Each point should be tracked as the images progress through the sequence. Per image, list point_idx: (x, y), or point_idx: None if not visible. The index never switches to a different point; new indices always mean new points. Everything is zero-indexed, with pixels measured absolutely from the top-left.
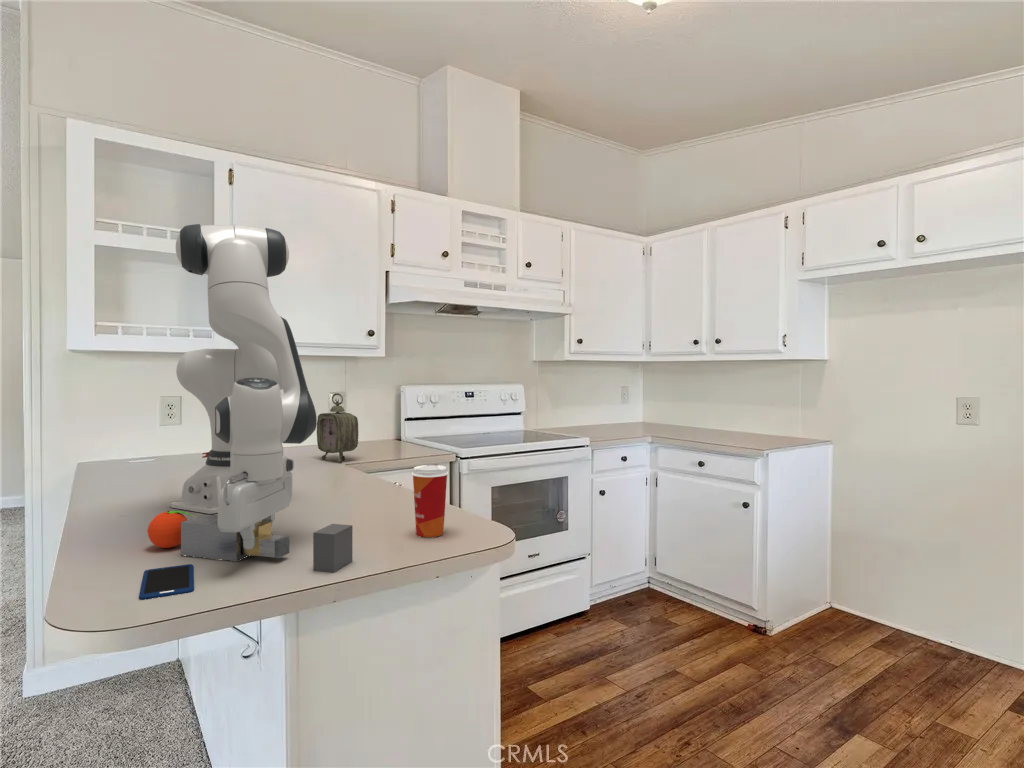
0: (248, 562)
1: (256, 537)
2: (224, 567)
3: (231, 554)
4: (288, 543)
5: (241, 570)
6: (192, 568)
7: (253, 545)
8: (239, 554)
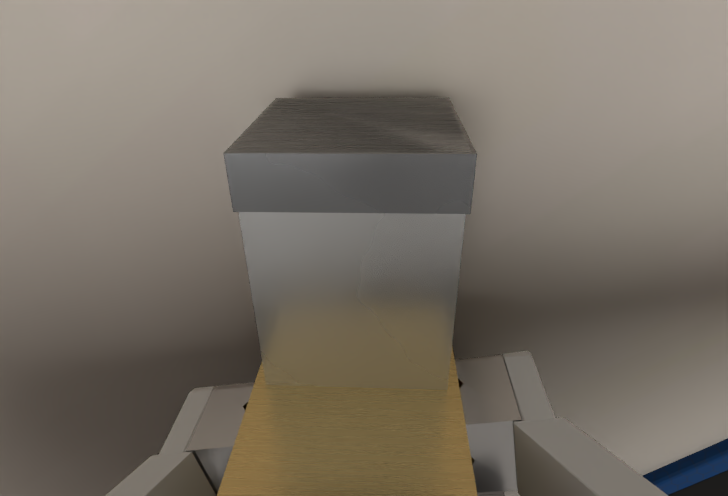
0: (467, 312)
1: (476, 421)
2: (585, 379)
3: None
4: (266, 126)
5: (642, 257)
6: (657, 487)
7: (526, 364)
8: None
